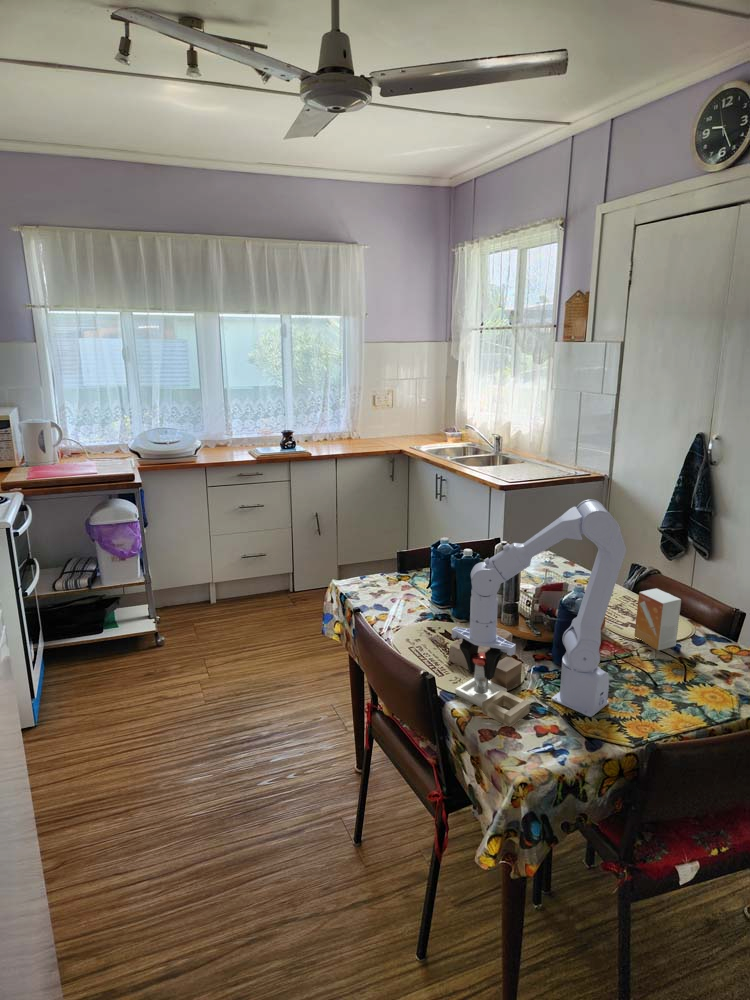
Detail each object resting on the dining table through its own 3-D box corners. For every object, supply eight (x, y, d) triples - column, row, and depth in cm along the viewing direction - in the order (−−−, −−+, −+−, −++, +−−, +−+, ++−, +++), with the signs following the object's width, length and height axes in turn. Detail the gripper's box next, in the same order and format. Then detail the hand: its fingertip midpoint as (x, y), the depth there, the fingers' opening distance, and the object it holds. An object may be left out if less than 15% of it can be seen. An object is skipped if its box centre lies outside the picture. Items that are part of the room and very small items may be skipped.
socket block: (529, 713, 135) (529, 702, 135) (509, 727, 130) (510, 716, 130) (501, 700, 140) (502, 689, 139) (482, 712, 135) (482, 702, 135)
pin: (493, 692, 140) (494, 658, 139) (478, 696, 139) (478, 662, 137) (483, 684, 144) (483, 651, 142) (468, 688, 142) (468, 654, 141)
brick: (474, 673, 152) (475, 655, 151) (446, 661, 158) (447, 643, 156) (512, 649, 163) (513, 632, 162) (485, 638, 169) (486, 622, 168)
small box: (633, 637, 168) (638, 591, 165) (651, 633, 170) (656, 587, 167) (657, 651, 161) (663, 603, 157) (676, 646, 163) (682, 598, 160)
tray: (506, 694, 142) (506, 688, 142) (484, 709, 137) (484, 702, 136) (477, 681, 148) (477, 675, 147) (455, 694, 142) (455, 688, 142)
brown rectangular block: (520, 682, 147) (521, 662, 146) (505, 691, 143) (506, 671, 142) (506, 675, 150) (507, 656, 149) (490, 685, 146) (491, 665, 145)
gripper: (523, 620, 136) (520, 677, 140) (463, 603, 145) (461, 658, 148) (508, 632, 131) (505, 691, 134) (447, 614, 140) (446, 670, 143)
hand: (481, 674), depth 141 cm, fingers closed on pin, 4 cm apart
